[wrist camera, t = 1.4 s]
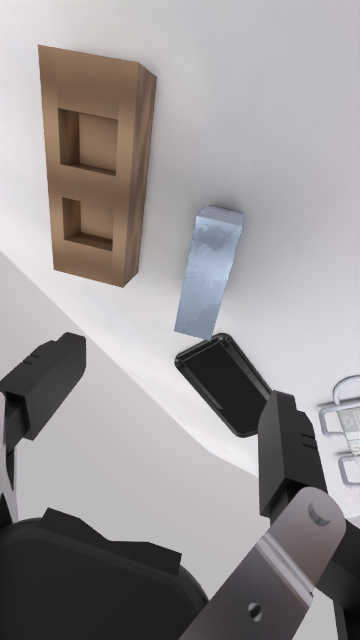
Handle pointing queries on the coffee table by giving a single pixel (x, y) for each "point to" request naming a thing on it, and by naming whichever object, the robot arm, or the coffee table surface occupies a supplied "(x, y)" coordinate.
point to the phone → (226, 382)
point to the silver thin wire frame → (345, 428)
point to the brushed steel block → (208, 270)
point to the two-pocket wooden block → (96, 160)
